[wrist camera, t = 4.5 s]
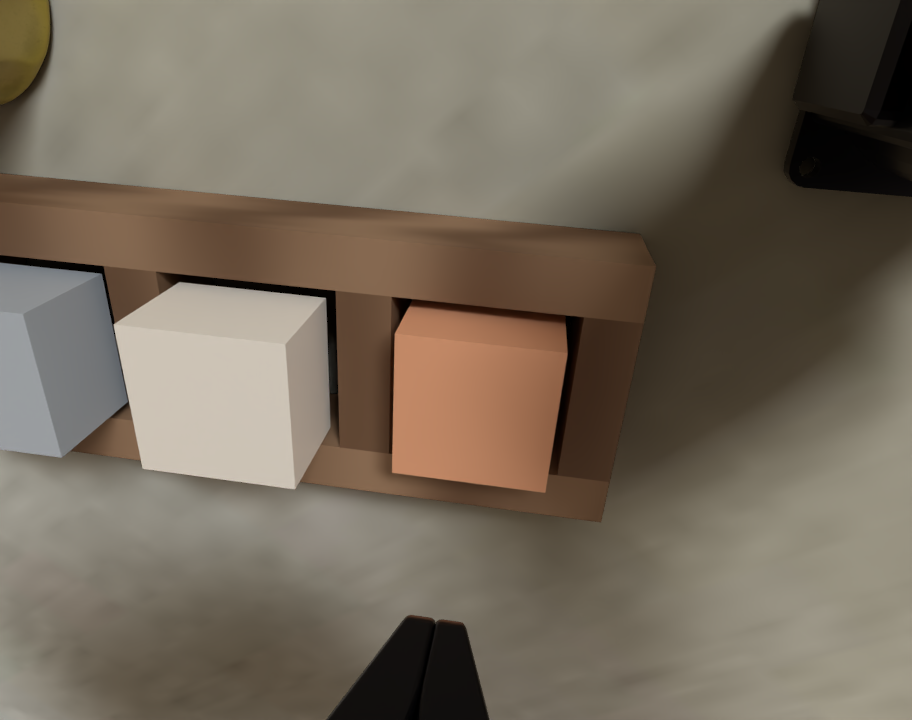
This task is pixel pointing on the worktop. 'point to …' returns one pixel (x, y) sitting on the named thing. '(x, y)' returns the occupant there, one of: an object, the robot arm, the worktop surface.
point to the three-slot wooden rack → (366, 308)
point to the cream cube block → (228, 382)
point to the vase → (22, 44)
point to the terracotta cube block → (477, 393)
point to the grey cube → (55, 359)
